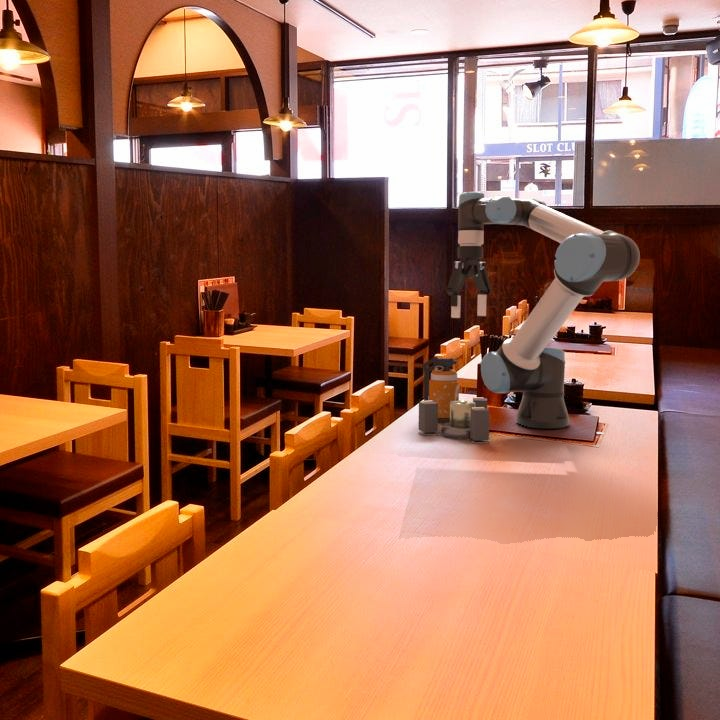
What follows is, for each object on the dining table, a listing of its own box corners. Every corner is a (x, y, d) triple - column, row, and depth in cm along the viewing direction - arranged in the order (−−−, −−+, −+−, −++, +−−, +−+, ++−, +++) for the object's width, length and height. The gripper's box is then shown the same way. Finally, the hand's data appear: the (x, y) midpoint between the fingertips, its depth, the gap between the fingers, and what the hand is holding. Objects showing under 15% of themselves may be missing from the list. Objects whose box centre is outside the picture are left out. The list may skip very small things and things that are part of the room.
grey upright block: (431, 428, 219) (431, 399, 218) (437, 431, 215) (438, 401, 214) (418, 429, 217) (418, 400, 216) (424, 432, 214) (424, 402, 213)
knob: (486, 425, 224) (487, 396, 223) (486, 428, 220) (487, 398, 219) (472, 425, 224) (472, 396, 223) (472, 427, 220) (472, 398, 220)
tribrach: (488, 428, 224) (489, 395, 223) (489, 444, 203) (490, 408, 202) (421, 425, 227) (421, 393, 226) (415, 441, 206) (415, 406, 205)
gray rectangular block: (484, 437, 208) (485, 405, 207) (488, 440, 204) (489, 408, 203) (469, 437, 208) (470, 406, 207) (473, 440, 204) (474, 408, 203)
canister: (457, 426, 226) (458, 358, 224) (419, 425, 228) (420, 358, 226) (459, 421, 235) (460, 355, 233) (423, 419, 237) (424, 354, 235)
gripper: (483, 246, 241) (481, 314, 244) (435, 244, 223) (433, 317, 225) (504, 246, 236) (502, 315, 239) (456, 244, 218) (454, 319, 220)
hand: (468, 316), depth 232 cm, fingers open, 13 cm apart
